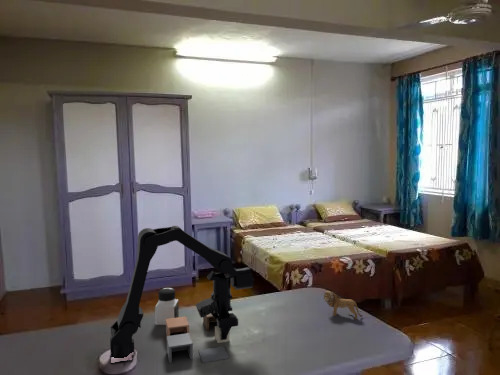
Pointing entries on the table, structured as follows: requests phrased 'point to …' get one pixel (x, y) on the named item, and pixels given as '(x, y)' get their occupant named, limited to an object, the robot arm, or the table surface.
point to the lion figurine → (340, 303)
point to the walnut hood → (208, 320)
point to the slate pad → (213, 354)
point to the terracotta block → (177, 325)
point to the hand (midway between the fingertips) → (222, 336)
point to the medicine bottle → (166, 306)
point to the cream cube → (218, 335)
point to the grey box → (179, 345)
